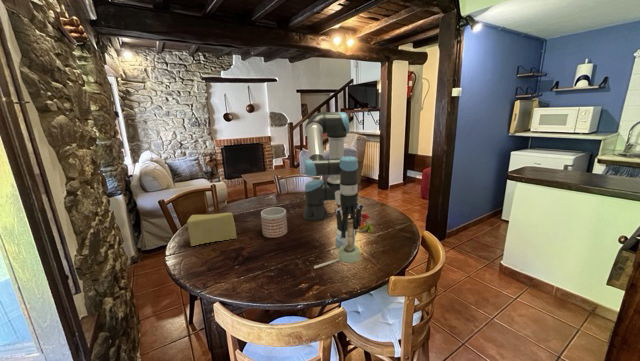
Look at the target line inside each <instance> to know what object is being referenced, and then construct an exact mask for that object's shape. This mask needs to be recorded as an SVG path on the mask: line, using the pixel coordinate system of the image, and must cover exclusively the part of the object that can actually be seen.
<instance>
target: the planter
mask: <svg viewBox="0 0 640 361" xmlns="http://www.w3.org/2000/svg"><path fill="white" fill-rule="evenodd" d="M260 217H261V218H260V219H261V220H260V221H261V228H262V229H261V231H262V235H263V236H264V237H266V238H270V239H271V238H273V239H274V238H281V237H283V236H284V235H286V234H287V233H288V220H287V210H286V209H285V208H283V207H279V206H278V207H276V206H275V207H268V208H264V209H262V211H261V212H260Z"/></svg>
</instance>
